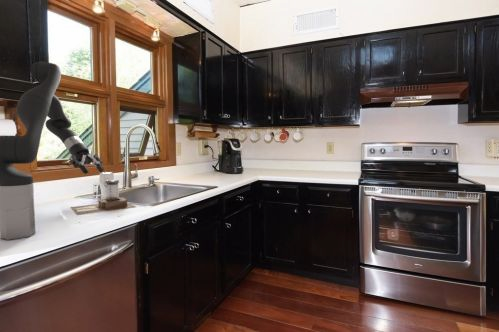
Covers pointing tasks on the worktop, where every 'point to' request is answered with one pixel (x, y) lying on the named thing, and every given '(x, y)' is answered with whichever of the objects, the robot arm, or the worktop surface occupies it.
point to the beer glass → (103, 179)
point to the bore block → (103, 206)
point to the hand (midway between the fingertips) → (94, 172)
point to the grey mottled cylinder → (112, 190)
